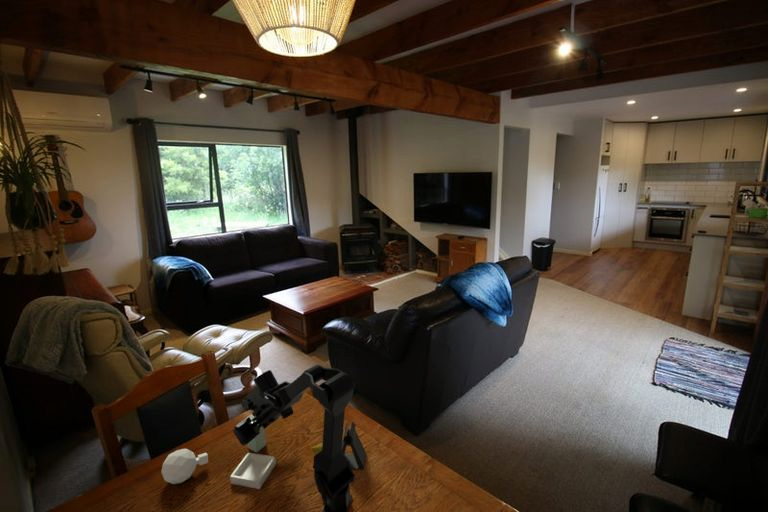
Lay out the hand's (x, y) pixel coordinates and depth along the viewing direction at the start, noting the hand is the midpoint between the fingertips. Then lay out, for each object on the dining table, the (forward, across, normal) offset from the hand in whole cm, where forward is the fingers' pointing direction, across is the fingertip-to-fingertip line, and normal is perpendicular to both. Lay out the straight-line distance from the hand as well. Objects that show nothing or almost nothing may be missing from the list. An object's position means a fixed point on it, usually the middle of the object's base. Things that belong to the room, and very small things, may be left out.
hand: (252, 427), depth 119 cm
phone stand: (-18, -9, +28) cm, 34 cm away
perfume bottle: (+10, +18, -1) cm, 21 cm away
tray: (-2, +8, +11) cm, 14 cm away
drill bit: (-12, -6, +22) cm, 25 cm away
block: (+4, 0, +6) cm, 7 cm away
